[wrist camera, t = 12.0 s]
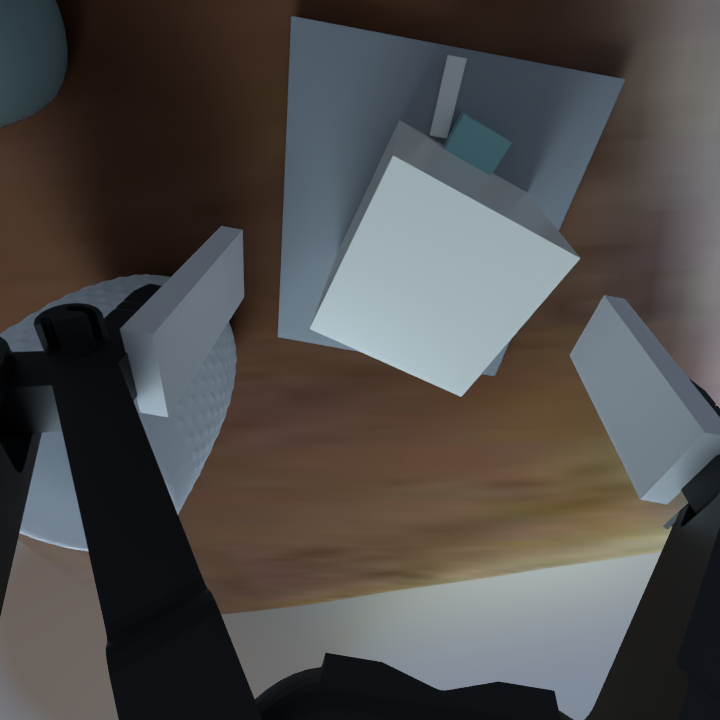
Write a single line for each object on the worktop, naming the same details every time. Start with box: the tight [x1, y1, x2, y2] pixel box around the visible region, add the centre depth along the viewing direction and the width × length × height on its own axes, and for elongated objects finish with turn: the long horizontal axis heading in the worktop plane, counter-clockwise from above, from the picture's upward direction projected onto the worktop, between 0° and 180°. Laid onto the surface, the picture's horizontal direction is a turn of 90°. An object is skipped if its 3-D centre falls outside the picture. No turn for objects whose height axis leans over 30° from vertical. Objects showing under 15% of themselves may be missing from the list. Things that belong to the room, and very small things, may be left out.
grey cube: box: [310, 111, 580, 397], centre depth 19 cm, size 7×10×8 cm
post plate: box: [278, 16, 625, 376], centre depth 20 cm, size 16×14×7 cm
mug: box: [0, 274, 237, 551], centre depth 24 cm, size 15×11×13 cm
